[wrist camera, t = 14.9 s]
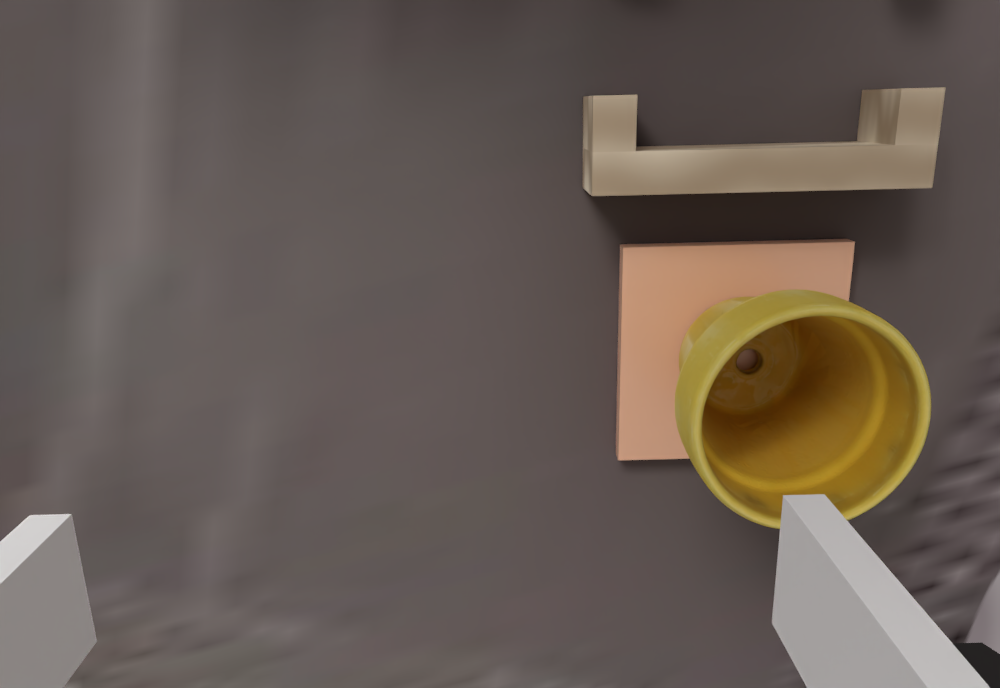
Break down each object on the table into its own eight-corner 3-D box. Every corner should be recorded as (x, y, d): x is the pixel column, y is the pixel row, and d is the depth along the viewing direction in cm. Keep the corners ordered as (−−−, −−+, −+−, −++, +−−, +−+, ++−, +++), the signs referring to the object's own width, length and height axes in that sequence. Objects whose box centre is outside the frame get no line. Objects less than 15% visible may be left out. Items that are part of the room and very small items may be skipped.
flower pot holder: (585, -166, 37) (596, -198, 33) (932, -174, 37) (984, -206, 33) (582, 187, 41) (592, 196, 37) (891, 180, 41) (932, 187, 37)
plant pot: (867, 286, 42) (976, 339, 33) (798, 461, 45) (879, 556, 35) (680, 238, 41) (737, 277, 32) (621, 419, 44) (657, 505, 34)
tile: (620, 244, 42) (623, 247, 41) (846, 238, 42) (855, 241, 41) (615, 453, 46) (618, 460, 45) (825, 447, 46) (832, 454, 45)
